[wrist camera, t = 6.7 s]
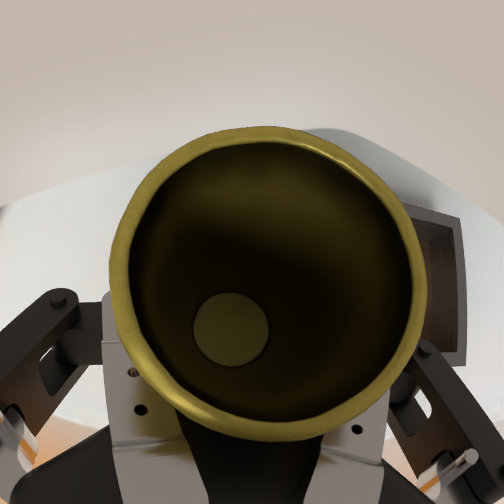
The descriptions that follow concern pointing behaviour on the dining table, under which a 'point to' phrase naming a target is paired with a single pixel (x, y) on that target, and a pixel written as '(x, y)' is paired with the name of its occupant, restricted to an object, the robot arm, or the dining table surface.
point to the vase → (267, 283)
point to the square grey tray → (443, 282)
